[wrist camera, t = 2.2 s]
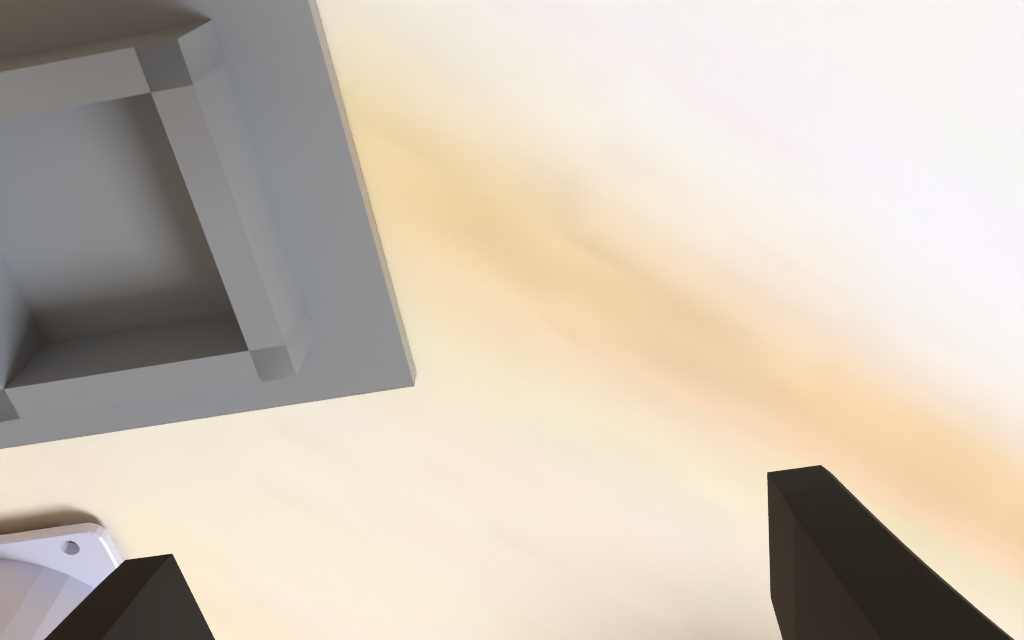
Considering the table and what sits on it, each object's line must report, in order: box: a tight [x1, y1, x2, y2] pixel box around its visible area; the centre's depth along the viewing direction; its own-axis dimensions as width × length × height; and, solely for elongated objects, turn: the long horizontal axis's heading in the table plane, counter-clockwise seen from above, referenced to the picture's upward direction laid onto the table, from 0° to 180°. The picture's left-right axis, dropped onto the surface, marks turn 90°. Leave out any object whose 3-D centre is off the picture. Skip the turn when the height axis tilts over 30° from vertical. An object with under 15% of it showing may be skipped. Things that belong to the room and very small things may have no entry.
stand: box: [0, 0, 416, 449], centre depth 18 cm, size 11×11×3 cm
